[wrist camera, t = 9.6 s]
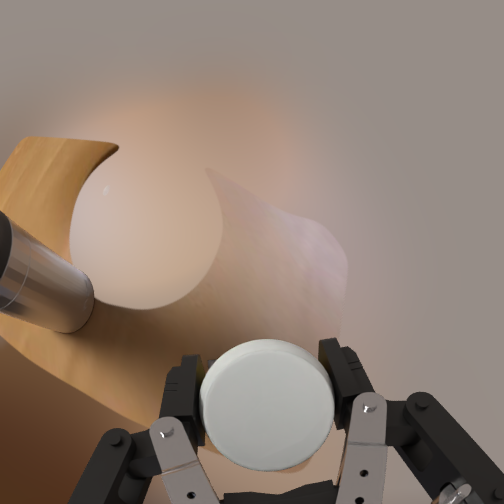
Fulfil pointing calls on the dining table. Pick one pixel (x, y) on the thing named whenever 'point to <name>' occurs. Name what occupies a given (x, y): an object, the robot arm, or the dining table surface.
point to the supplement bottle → (267, 404)
